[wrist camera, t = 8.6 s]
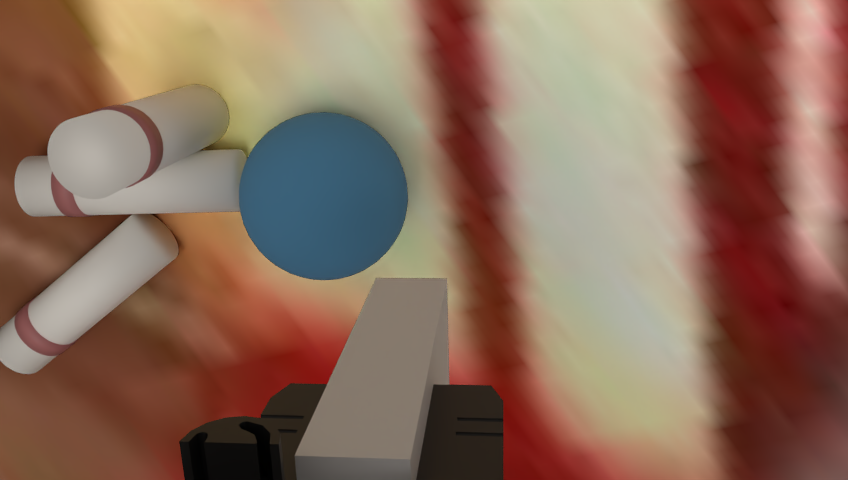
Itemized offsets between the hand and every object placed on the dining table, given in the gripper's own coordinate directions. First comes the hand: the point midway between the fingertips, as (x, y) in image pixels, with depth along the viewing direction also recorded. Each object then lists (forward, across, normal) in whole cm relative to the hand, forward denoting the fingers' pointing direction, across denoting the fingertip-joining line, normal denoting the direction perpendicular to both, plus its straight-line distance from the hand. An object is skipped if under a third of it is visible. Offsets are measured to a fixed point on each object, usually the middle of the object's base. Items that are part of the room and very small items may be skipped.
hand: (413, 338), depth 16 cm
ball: (+11, +4, 0) cm, 12 cm away
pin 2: (+13, +12, +2) cm, 18 cm away
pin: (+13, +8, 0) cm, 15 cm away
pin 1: (+14, +10, -3) cm, 18 cm away
